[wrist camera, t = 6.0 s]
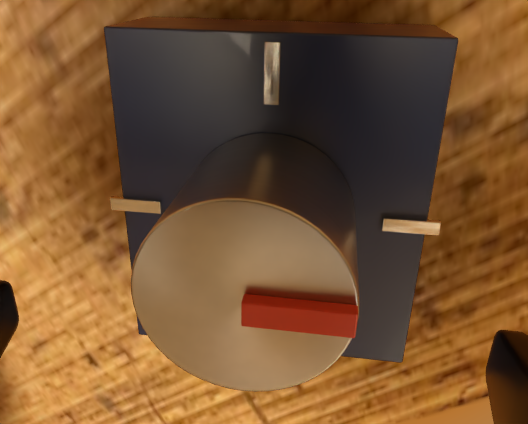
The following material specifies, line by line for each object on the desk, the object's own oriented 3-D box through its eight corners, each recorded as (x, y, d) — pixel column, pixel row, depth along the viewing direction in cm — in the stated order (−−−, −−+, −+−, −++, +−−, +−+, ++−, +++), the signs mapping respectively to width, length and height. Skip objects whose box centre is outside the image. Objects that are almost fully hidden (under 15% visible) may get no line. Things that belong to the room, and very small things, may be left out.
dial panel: (137, 16, 14) (87, 26, 12) (447, 25, 13) (475, 39, 11) (160, 281, 18) (127, 337, 15) (402, 303, 17) (414, 368, 14)
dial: (190, 277, 14) (134, 389, 10) (183, 127, 12) (111, 196, 9) (346, 293, 14) (347, 416, 10) (363, 138, 12) (373, 216, 8)
